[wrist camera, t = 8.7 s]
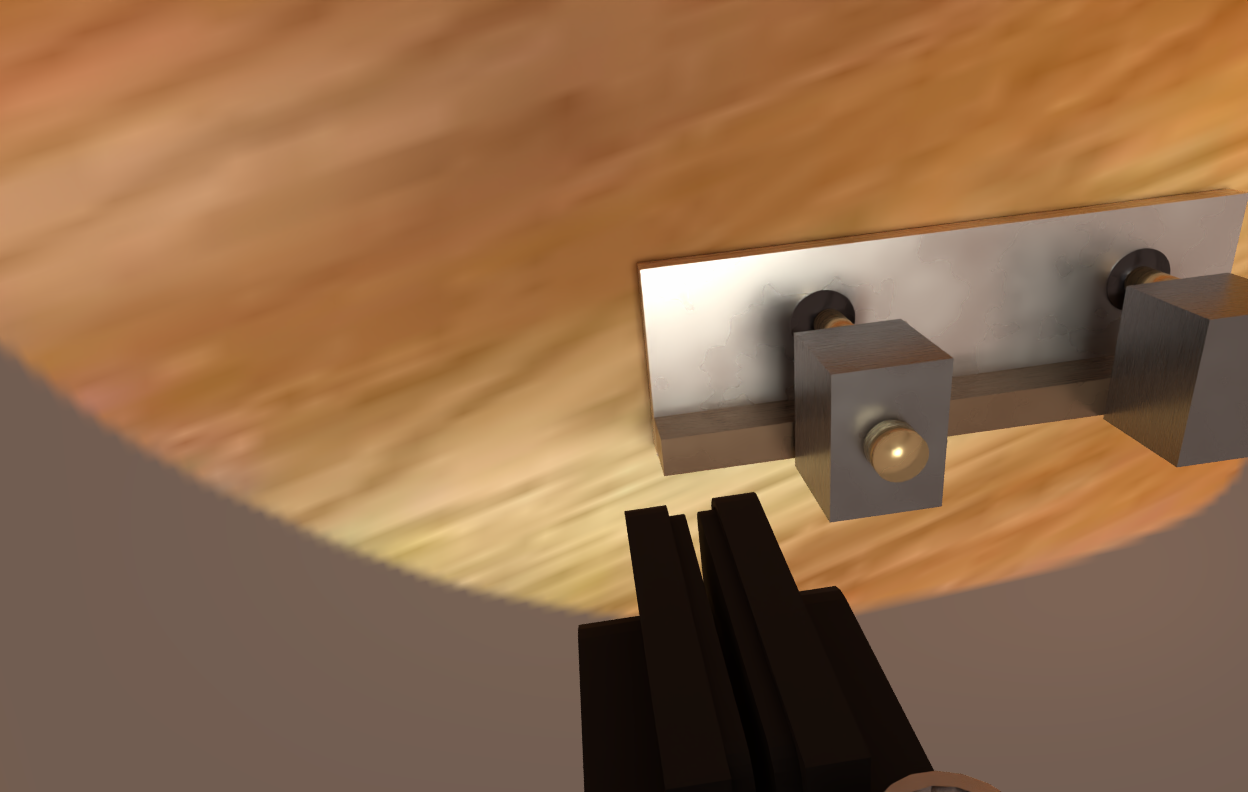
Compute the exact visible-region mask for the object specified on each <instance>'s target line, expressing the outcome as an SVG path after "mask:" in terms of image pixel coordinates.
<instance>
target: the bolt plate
mask: <svg viewBox="0 0 1248 792" xmlns="http://www.w3.org/2000/svg"><path fill="white" fill-rule="evenodd" d="M1247 200H1248V193H1247V192H1243V191H1238V190H1233V189H1221V190H1214V191H1206V192H1198V193H1190V194H1182V195H1174V196H1166V197H1158V198H1150V199H1142V200H1134V201H1126V202H1118V203H1110V204H1102V205H1094V206H1086V207H1079V208H1071V209H1063V210H1055V211H1047V212H1039V213H1031V214H1023V215H1015V216H1007V217H999V218H991V219H983V220H975V221H967V222H959V223H951V224H944V225H936V226H928V227H920V228H912V229H904V230H896V231H888V232H880V233H872V234H864V235H856V236H848V237H840V238H832V239H824V240H816V241H809V242H801V243H793V244H785V245H777V246H769V247H761V248H753V249H745V250H737V251H729V252H721V253H713V254H705V255H697V256H689V257H681V258H673V259H666V260H658V261H650V262H642V263H637V268H638V279H639V289H640V300H641V310H642V320H643V331H644V341H645V352H646V362H647V373H648V383H649V393H650V404H651V414H652V425H653V435H654V445H655V449H656V452H657V455H658V456H659V459H660V463H661V466H662V470H663V473H664V476H668V475H675V474H682V473H690V472H697V471H704V470H711V469H718V468H725V467H732V466H740V465H747V464H754V463H761V462H768V461H775V460H783V459H790V458H795V391H794V333H795V332H803V331H810V330H815V329H814V321H815V319H816V317H817V315H818V314H819V313H821V312H822V311H824V310H826V309H836V310H838V311H839V312H840V313H842V314H843V315H844V316H845V317H846V318H847V319H848V320H850V321H851V322H852V323H853V324H854V325H856V324H864V323H871V322H879V321H886V320H894V319H902V320H903V321H905V322H906V323H907V324H909V325H910V326H911V327H913V328H914V329H915V330H917V331H918V332H919V333H921V334H922V335H923V336H925V337H926V338H927V339H929V340H930V341H931V342H933V343H934V344H935V345H937V346H938V347H939V348H941V349H942V350H943V351H945V352H946V353H947V354H949V355H950V356H951V357H953V358H954V361H953V373H952V386H951V398H950V410H949V422H948V435H947V436H954V435H961V434H968V433H975V432H983V431H990V430H997V429H1004V428H1011V427H1018V426H1025V425H1033V424H1040V423H1047V422H1054V421H1061V420H1068V419H1075V418H1083V417H1090V416H1097V415H1104V418H1103V419H1104V420H1106V421H1107V422H1109V423H1110V424H1112V425H1113V426H1115V427H1116V428H1118V429H1120V430H1121V431H1123V432H1124V433H1126V434H1127V435H1129V436H1130V437H1132V438H1133V439H1135V440H1136V441H1138V442H1139V443H1141V444H1142V445H1144V446H1145V447H1147V448H1148V449H1150V450H1151V451H1153V452H1154V453H1156V454H1157V455H1159V456H1160V457H1162V458H1164V459H1165V460H1167V461H1168V462H1170V463H1171V464H1173V465H1174V466H1176V467H1182V466H1189V465H1196V464H1203V463H1210V462H1217V461H1224V460H1231V459H1238V458H1244V457H1248V279H1246V278H1243V277H1240V276H1237V275H1234V274H1231V270H1232V265H1233V261H1234V257H1235V252H1236V248H1237V244H1238V239H1239V235H1240V231H1241V226H1242V222H1243V218H1244V213H1245V209H1246V205H1247Z"/></svg>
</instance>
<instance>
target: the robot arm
mask: <svg viewBox="0 0 1248 792" xmlns="http://www.w3.org/2000/svg"><path fill="white" fill-rule="evenodd" d="M711 507H712V510H708V511H701V512H698V513H697V520H698V531H699V542H700V552H701V562H702V572H703V579H702V576H701V572H700V568H699V564H698V561H697V557H696V553H695V550H694V546H693V542H692V539H691V535H690V531H689V528H688V524H687V520H686V517H685V514H681V515H674V516H669V514H668V510H667V506H666V505H664V506H657V507H650V508H644V509H637V510H630V511H624V512H625V519H626V526H627V533H628V539H629V546H630V553H631V560H632V567H633V574H634V581H635V588H636V594H637V601H638V608H639V615H640V616H635V617H628V618H622V619H615V620H609V621H602V622H596V623H589V624H582V625H579V628H578V644H579V645H578V647H579V671H580V692H581V693H580V694H581V695H580V696H581V720H582V744H583V769H584V792H1001V791H999V790H998V789H996V788H995V787H993V786H991V785H990V784H988V783H986V782H983V781H980V780H977V779H974V778H972V777H969V776H966V775H963V774H959V773H950V772H941V771H934V770H933V768H932V766H931V764H930V762H929V760H928V758H927V756H926V754H925V752H924V750H923V748H922V746H921V744H920V742H919V740H918V738H917V737H916V735H915V732H914V731H913V729H912V727H911V725H910V723H909V721H908V719H907V717H906V715H905V713H904V711H903V709H902V707H901V705H900V703H899V702H898V699H897V697H896V695H895V693H894V692H893V690H892V688H891V686H890V684H889V682H888V680H887V678H886V676H885V674H884V672H883V670H882V669H881V666H880V664H879V662H878V660H877V658H876V656H875V655H874V653H873V651H872V649H871V647H870V645H869V643H868V641H867V639H866V637H865V635H864V633H863V631H862V629H861V627H860V625H859V623H858V621H857V620H856V617H855V616H854V614H853V612H852V610H851V608H850V606H849V604H848V602H847V600H846V598H845V596H844V595H843V593H842V592H841V590H840V589H839V588H837V587H836V586H832V587H825V588H819V589H812V590H806V591H799V590H798V588H797V586H796V584H795V581H794V579H793V577H792V574H791V572H790V570H789V568H788V565H787V563H786V561H785V558H784V556H783V554H782V551H781V549H780V547H779V545H778V542H777V540H776V538H775V535H774V533H773V531H772V529H771V526H770V524H769V522H768V519H767V517H766V515H765V513H764V510H763V508H762V506H761V503H760V501H759V499H758V497H757V495H756V493H754V492H751V493H744V494H738V495H731V496H724V497H718V498H712V502H711Z"/></svg>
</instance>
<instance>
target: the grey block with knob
mask: <svg viewBox="0 0 1248 792" xmlns="http://www.w3.org/2000/svg"><path fill="white" fill-rule="evenodd" d="M814 329H815V330H810V331H803V332H795V333H794V391H795V466H796V468H797V470H798V471H799V473H800V475H801V476H802V478H803V479H804V481H805V483H806V484H807V486H808V488H809V489H810V491H811V493H812V494H813V496H814V497H815V499H816V501H817V502H818V504H819V506H820V507H821V509H822V510H823V512H824V514H825V515H826V517H827V519H828V520H829V522H836V521H843V520H850V519H857V518H864V517H871V516H878V515H885V514H892V513H899V512H906V511H913V510H919V509H926V508H933V507H940V506H942V496H943V484H944V471H945V459H946V447H947V435H948V422H949V410H950V398H951V386H952V373H953V361H954V358H953V357H951V356H950V355H949V354H947V353H946V352H945V351H943V350H942V349H941V348H939V347H938V346H937V345H935V344H934V343H933V342H931V341H930V340H929V339H927V338H926V337H925V336H923V335H922V334H921V333H919V332H918V331H917V330H915V329H914V328H913V327H911V326H910V325H909V324H907V323H906V322H905V321H903V320H902V319H894V320H886V321H879V322H871V323H864V324H856V325H854V324H853V323H852V322H851V321H850V320H848V319H847V318H846V317H845V316H844V315H843V314H842V313H840V312H839V311H838V310H836V309H826V310H824V311H822V312H821V313H819V314H818V315H817V317H816V319H815V321H814Z"/></svg>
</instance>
